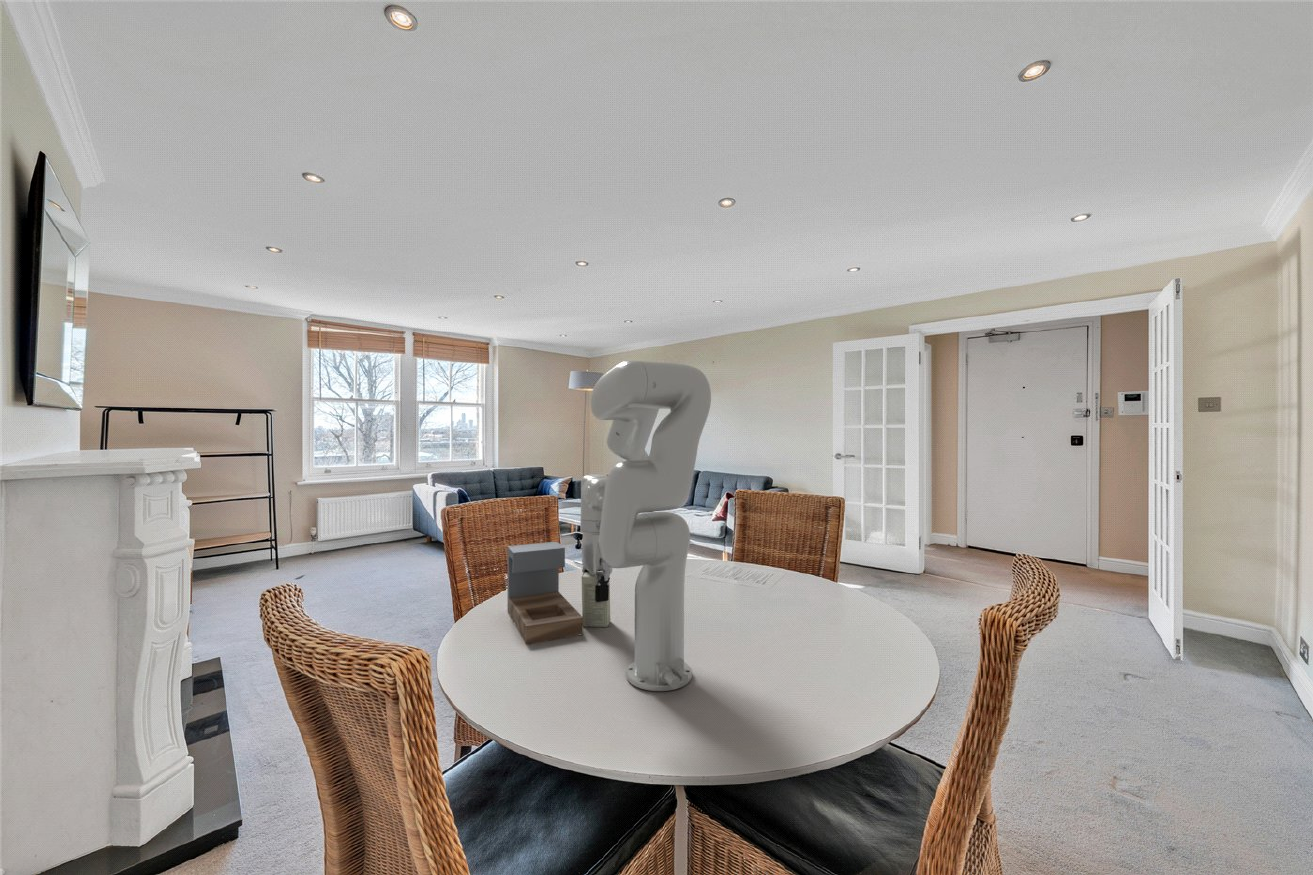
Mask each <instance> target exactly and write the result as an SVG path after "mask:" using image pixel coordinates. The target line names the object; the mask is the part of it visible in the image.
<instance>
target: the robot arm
mask: <svg viewBox="0 0 1313 875" xmlns="http://www.w3.org/2000/svg"><path fill="white" fill-rule="evenodd" d="M711 391H712V390H711V386H710V383H709V380H708V378H707V376H706V374H704V372H702V370H701V369H699V368H697V367H695V366H692V365H688V364H682V363H677V362H676V363H674V362H657V361H646V360H625V361H622V362H620V363H619V364H617V365H615V366H614V367H613V368H612V369H610V370H608V371H607V372H606V373H604V374H603V375H602V376H601V377H600V378H599V379H598V380H597V382H596V383H595V385H594V386H593V388H592V392H591V395H590V409H591V412H592V414H593V416H594V417H595V418H596V419H598V420H600V421H611V425H610V428H609V431H608V434H607V438H606V445H607V447H608V449H609V450H610V452H611V453H613V454H614V455H616V456H617V457H619V458H621V459H622V460H624V461H621V462H618V463H616V464H615V465H613V467H612V468H611V469H610V471H609V473H608V475H606V474H601V473H600V474H599V473H598V474H597V473H596V474H587V475H584V476H583V477H581V481H580V525H579V526H580V533H581V534H582V540H581V541H582V543H581V564H582V576H583V575H584V574H585V572H590V573H591V574H592V575H594V576H595V578H596V583H597V585H595V601H596V602H603V601H608V600H609V582H610V579H611V577H610V576H611V574H612V572H613V569H626V568H633V567H634V568H635V567H641V566H642V567H641V568H640V571H639V573H638V576H637V577H636V581H635V584H634V585H635V586H634V661H632V663H630V664H629V665H628V666H627V667H626V673H625V675H626V676H625V677H626V680H627V681H628V682H629V683H630V684H631V685H633V686H634V687H636V688H638V689H642V690H646V691H650V692H669V691H674V690H675V691H676V690H677V689H680V688H684V686H686V685H687V684H689V682H691V680H692V678H693V671H692V670H693V669H692V668H691V666H690V665H689V664H688V663H686V662H685V579H686V578H685V576H686V568H687V567H686V566H687V560H688V555H689V554H688V552H689V548H690V542H691V532H690V526H689V525H688V523H687V521H686V519H684V518H683V517H682V516H681V515H680V514H677V513H674V512H669V511H673V510H678V509H680V508H682V507H684V506H685V505H686V504H687V502H688V500H689V497H690V494H691V489H692V483H693V478H694V471H695V467H696V466H695V465H696V461H697V455H698V449H699V448H698V446H699V443H700V439H701V435H702V433H703V430H704V428H705V425H706V422H707V419H708V417H709V412H710V409H711V406H712V405H711V404H712V392H711ZM660 409H667V410H668V409H669V410H670V412H669V413H668V414H667V415H665V417H664V418H663V419H662V420H661V421H660V423H659V424H658V425H657V427H656V429H655V431H654V432H653V434H652V438H651V446H650V449H649V451H650V452H649V454H648V453H647V451H646V446H647V444H648V441H649V438H650V436H651V433H652V430H653V427H654V426H655V423H656V419H657V416H658V414H659V411H660ZM599 576H602V577H601V579H600V578H599Z"/></svg>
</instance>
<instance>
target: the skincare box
mask: <svg viewBox="0 0 1313 875" xmlns="http://www.w3.org/2000/svg"><path fill="white" fill-rule="evenodd" d="M601 577H602V576H599V578H600V579H601ZM595 585H597V583H596V578H595V576H594V575H592V574H591V573H590V572H585V574H584V575H583V574H582V575H581V606H582V607H581V608H582V615H581V616H582V617H583V627H596V628H597V627H598V628H599V627H601V628H603V627H604V628H605V627H606V628H607V627H608V626H609V624H610V623H611V590H610V588H611V587H610V586H611V584H610V581H609V600H608V601H603V602H596V601H595Z"/></svg>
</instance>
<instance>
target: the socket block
mask: <svg viewBox="0 0 1313 875" xmlns="http://www.w3.org/2000/svg"><path fill="white" fill-rule="evenodd" d="M508 614H509V616H510V618H511V620H512V622H513V624H514V623H515V624H514V626H516V628H517V631H518V632H519V635H520V636H521V638H522V639H523V641H524V643H525V645H530V644H534V643H535V642H536V643H540V641H541V642H546V641H545V640H547V641H552V640H551V639H553V640H557V639H558V638H559V639H563V637H565V638H569V637H575V636H576V637H577V636H581V634H582V635H583V634H584V628H583V627H584V626H583V616H582V615H581V614H580V612H578V611H577V609H575V607H574V606H573V605H572V604H571V603H570V602H569V600H567V599H566V597H565V596H564V595H562V593H561V592H560V591H559V592H552V593H544V594H537V595H529V596H522V597H514V598H509V613H508ZM556 638H557V639H556ZM536 643H535V644H536Z"/></svg>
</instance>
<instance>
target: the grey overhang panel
mask: <svg viewBox="0 0 1313 875" xmlns="http://www.w3.org/2000/svg"><path fill="white" fill-rule="evenodd" d="M506 548H507V552H506V553H507V555H506V557H507V558H506V559H507V560H506V563H507V568H506V570H507V583H506V584H507V587H506V588H507V613H508V614H509V598H514V597H522V596H529V595H537V594H544V593H552V592H559V593H560V591H559V590H560V589H559V588H560V587H559V584H560V578H559V573H560V570H559V569H561V568H566V548H565V546H564V545H562V544H561V543H559V542H558V541H551V542H550V541H549V542H539V543H538V542H537V543H528V544H527V543H526V544H517V545H507V546H506Z"/></svg>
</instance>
